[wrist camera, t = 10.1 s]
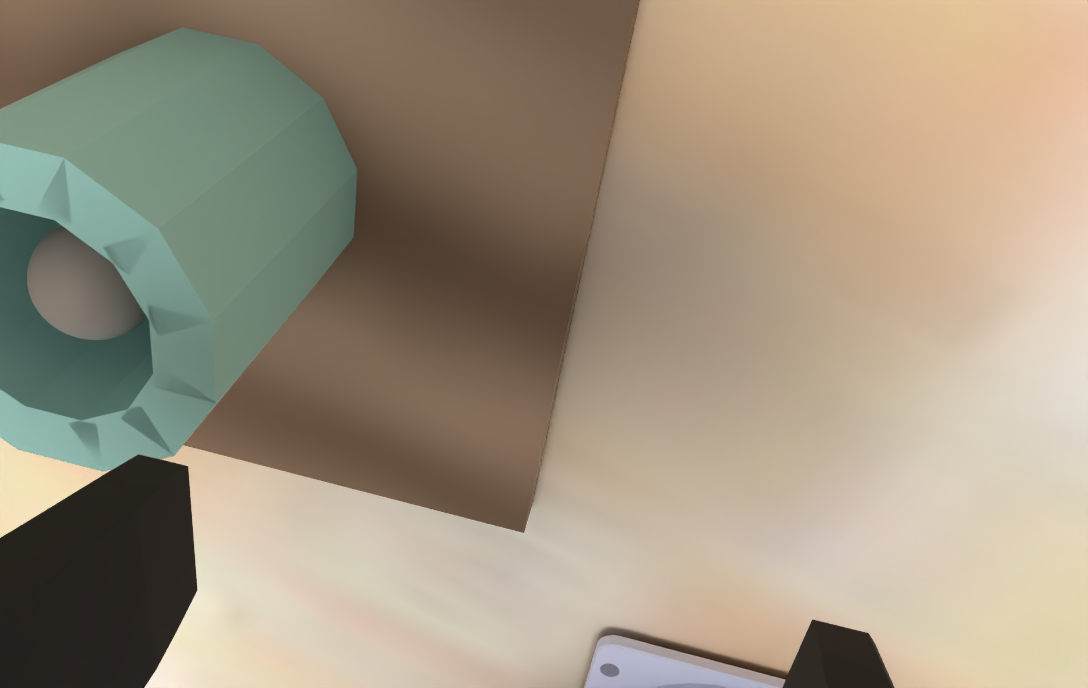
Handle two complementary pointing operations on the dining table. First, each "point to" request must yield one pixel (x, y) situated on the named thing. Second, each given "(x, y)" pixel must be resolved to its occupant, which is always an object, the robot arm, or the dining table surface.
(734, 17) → the dining table surface
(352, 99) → the brown square base plate
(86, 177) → the teal roll
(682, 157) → the dining table surface
